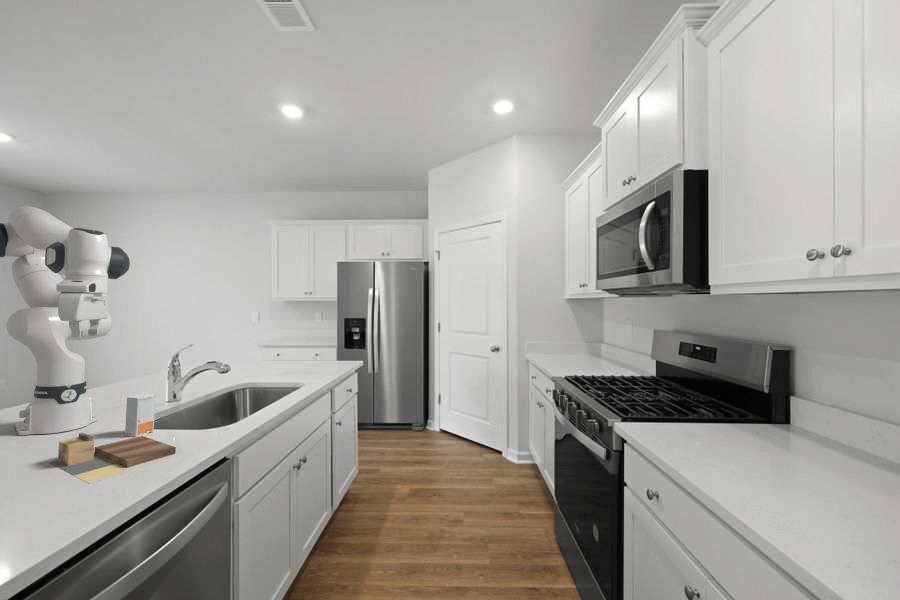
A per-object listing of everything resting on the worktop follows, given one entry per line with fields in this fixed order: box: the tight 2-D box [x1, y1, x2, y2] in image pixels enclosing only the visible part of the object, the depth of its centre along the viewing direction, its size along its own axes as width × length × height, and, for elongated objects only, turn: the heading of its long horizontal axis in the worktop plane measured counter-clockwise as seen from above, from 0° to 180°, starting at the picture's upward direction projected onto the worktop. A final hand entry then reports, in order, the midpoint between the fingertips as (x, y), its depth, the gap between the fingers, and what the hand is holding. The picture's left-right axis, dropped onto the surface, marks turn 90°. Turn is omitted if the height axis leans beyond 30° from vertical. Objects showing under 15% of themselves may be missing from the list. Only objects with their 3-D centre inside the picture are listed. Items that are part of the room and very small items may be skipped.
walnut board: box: [94, 435, 177, 469], centre depth 108 cm, size 18×11×2 cm, turn 62°
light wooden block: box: [57, 432, 95, 466], centre depth 102 cm, size 6×5×6 cm
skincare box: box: [124, 393, 156, 438], centre depth 124 cm, size 6×4×12 cm
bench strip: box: [48, 454, 131, 484], centre depth 99 cm, size 23×8×1 cm, turn 62°
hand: (85, 336), depth 110 cm, fingers open, 8 cm apart
